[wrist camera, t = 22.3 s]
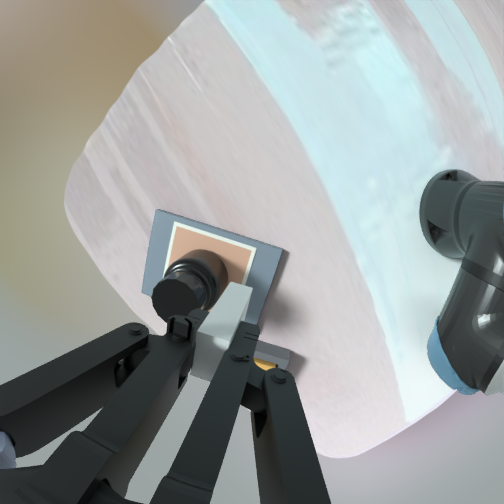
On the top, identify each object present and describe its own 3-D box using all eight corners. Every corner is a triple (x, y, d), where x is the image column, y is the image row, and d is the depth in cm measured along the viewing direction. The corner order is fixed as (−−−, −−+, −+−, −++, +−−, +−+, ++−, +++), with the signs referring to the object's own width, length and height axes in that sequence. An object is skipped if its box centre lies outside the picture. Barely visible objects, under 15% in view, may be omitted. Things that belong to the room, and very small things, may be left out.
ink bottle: (167, 268, 46) (131, 293, 34) (201, 235, 44) (170, 253, 32) (205, 310, 47) (179, 346, 35) (241, 280, 44) (224, 313, 33)
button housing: (290, 349, 48) (289, 360, 44) (274, 383, 50) (272, 394, 47) (243, 335, 48) (240, 345, 45) (231, 370, 51) (227, 380, 47)
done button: (277, 355, 48) (275, 368, 44) (268, 374, 50) (266, 387, 46) (250, 347, 48) (246, 359, 45) (242, 367, 50) (239, 379, 46)
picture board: (282, 248, 43) (282, 250, 42) (253, 331, 48) (252, 335, 47) (159, 209, 45) (155, 209, 44) (144, 290, 49) (141, 292, 48)
